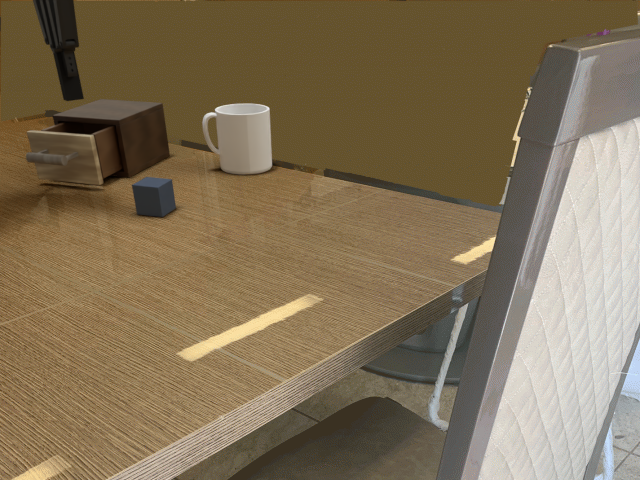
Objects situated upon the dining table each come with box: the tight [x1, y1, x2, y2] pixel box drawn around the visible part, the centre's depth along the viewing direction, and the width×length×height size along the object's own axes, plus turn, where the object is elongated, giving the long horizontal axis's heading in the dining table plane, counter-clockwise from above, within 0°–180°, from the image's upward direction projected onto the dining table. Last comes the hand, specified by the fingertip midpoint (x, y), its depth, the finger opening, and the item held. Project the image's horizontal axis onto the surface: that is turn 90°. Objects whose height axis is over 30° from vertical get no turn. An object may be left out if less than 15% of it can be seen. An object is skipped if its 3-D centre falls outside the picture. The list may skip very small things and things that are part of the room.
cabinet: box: [52, 98, 171, 178], centre depth 123 cm, size 16×14×10 cm
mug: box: [202, 103, 273, 175], centre depth 120 cm, size 13×10×10 cm
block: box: [131, 176, 177, 218], centre depth 102 cm, size 5×5×5 cm
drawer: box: [25, 121, 123, 186], centre depth 114 cm, size 20×13×8 cm, turn 162°
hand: (73, 99), depth 100 cm, fingers closed
